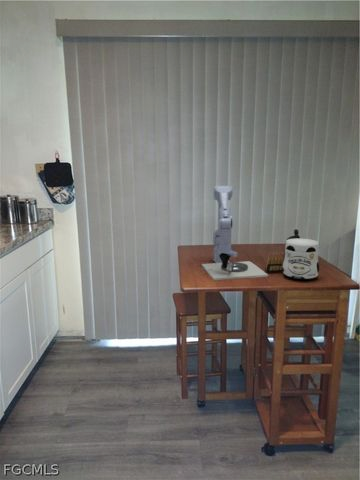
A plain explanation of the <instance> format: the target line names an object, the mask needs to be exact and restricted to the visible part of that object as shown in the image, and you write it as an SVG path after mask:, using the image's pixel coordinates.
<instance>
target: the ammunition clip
mask: <svg viewBox="0 0 360 480" xmlns="http://www.w3.org/2000/svg"><path fill="white" fill-rule="evenodd" d="M278 252H279V253H278ZM284 259H285V251H283V252H281V251H276V252H275V251H273V252H272V251H270V252H269V253H268V256H267V261H266V265H265V267H264V272H265V273H266V274H268V273H269V274H270V273H283V262H284Z"/></svg>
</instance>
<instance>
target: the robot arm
mask: <svg viewBox="0 0 360 480" xmlns="http://www.w3.org/2000/svg"><path fill="white" fill-rule="evenodd" d="M233 189H234V188H233V186H232V185H214V187H213V199H214V201H217V203H218V211H217V212H218V214H217V216H218V217H217V226H218V228H217V230H215V231H214V232H213V234H212V245H213V246H214V247H213V258H212V261H213V262H214V263H222V267H223V268H227V263H228V262H230V258H231V257H234V258H236V257H238V252H237V251H234V250H232V230H233V226H234V225H233V224H234V222H233V217H232V214H231V207H230V206H229V201H230V200H231V199H232V198H233V193H234V191H233Z"/></svg>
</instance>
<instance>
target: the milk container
mask: <svg viewBox="0 0 360 480" xmlns="http://www.w3.org/2000/svg"><path fill="white" fill-rule="evenodd" d="M287 239H288V238H287ZM287 239H286V240H285V242H286V245H285V244H284V245H285V247H284V249H285V251H284V258H285V259H284V262H283V272H282V273H283V274H284V275H285V277H287V278H291V279H292V280H293V279H294V280H301V281H303V280H305V281H307V280H313V279H316V278H317V277H318V276H319V273H320V263H319V252H320V251H319V249H320V244H319V241H317V240H314V239H311V238H301V237H300V238H295V239H288V240H287Z"/></svg>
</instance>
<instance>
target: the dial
mask: <svg viewBox="0 0 360 480" xmlns="http://www.w3.org/2000/svg"><path fill="white" fill-rule="evenodd" d="M239 262H240V261H234V262H233V261H232V262H228V263H227V268H223V267H222V265H221V269H222V270H224V271H228V272H243V271H246V270H248V265H246V264H244V263H239Z"/></svg>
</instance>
